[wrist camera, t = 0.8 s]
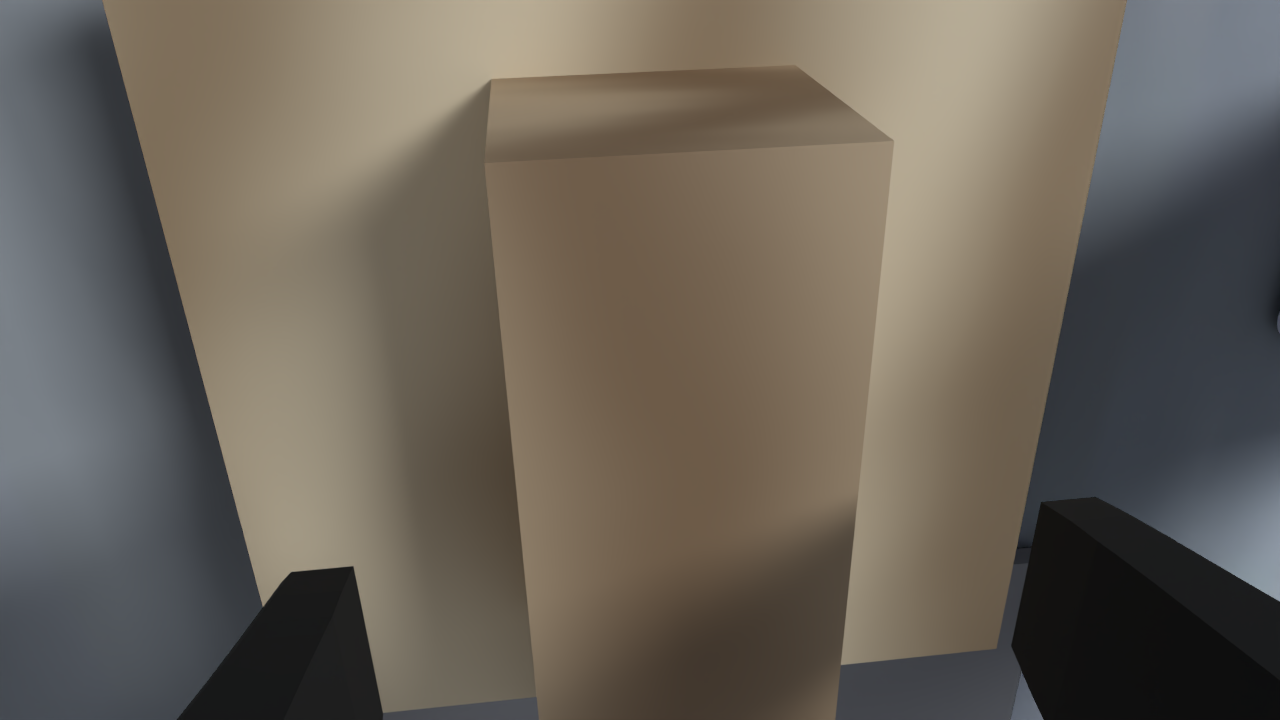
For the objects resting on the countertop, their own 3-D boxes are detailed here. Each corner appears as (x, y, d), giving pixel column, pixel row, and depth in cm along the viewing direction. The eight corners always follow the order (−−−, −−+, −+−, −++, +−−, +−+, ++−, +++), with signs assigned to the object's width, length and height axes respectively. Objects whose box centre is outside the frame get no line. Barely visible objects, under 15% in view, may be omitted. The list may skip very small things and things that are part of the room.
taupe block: (1115, -114, 13) (1384, -98, 9) (978, 619, 19) (1103, 825, 15) (105, -85, 12) (-102, -50, 8) (301, 688, 18) (241, 931, 14)
